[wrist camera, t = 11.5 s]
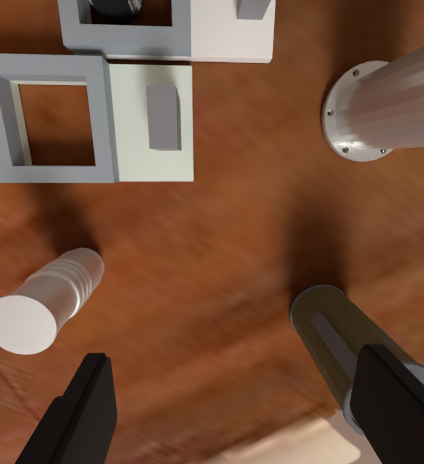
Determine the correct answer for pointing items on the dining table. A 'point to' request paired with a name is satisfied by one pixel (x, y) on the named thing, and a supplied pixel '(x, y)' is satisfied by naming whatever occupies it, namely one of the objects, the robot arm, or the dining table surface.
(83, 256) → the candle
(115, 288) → the dining table surface
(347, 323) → the canister
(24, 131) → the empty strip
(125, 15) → the beverage can
